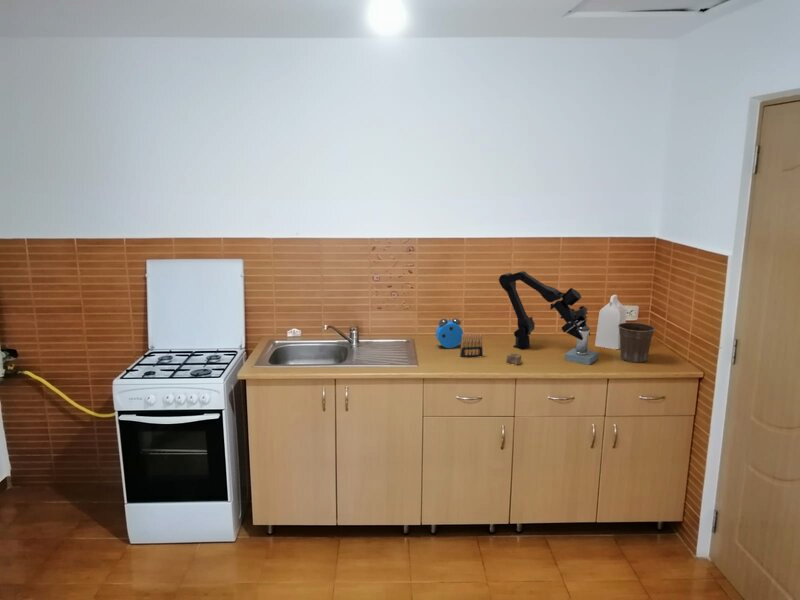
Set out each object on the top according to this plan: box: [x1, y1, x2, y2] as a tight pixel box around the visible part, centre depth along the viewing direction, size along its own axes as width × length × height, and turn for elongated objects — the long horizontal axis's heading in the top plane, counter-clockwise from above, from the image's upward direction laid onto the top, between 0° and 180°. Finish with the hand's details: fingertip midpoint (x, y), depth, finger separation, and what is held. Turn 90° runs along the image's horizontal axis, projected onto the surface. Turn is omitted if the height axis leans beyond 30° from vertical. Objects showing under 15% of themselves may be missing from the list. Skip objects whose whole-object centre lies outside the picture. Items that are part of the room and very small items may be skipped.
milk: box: [594, 294, 627, 350], centre depth 308 cm, size 12×12×26 cm
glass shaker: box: [575, 324, 591, 355], centre depth 286 cm, size 6×6×13 cm
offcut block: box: [506, 352, 522, 366], centre depth 282 cm, size 5×5×4 cm
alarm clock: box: [435, 317, 464, 349], centre depth 305 cm, size 13×6×15 cm, turn 100°
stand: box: [564, 347, 600, 366], centre depth 288 cm, size 12×12×3 cm
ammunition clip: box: [459, 332, 483, 358], centre depth 291 cm, size 11×2×12 cm, turn 98°
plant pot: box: [618, 322, 656, 363], centre depth 287 cm, size 16×16×16 cm
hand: (586, 337), depth 285 cm, fingers open, 9 cm apart
